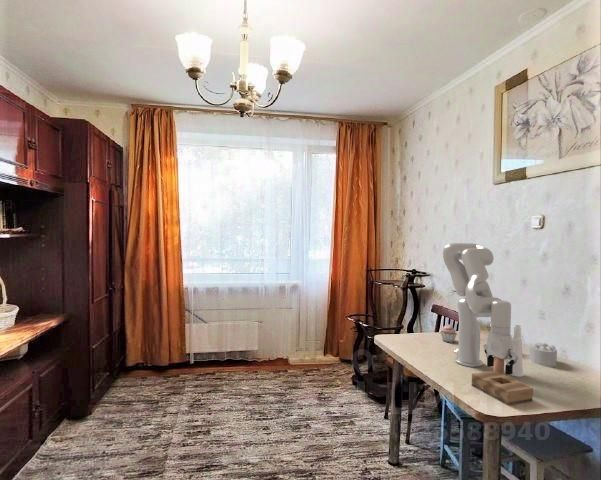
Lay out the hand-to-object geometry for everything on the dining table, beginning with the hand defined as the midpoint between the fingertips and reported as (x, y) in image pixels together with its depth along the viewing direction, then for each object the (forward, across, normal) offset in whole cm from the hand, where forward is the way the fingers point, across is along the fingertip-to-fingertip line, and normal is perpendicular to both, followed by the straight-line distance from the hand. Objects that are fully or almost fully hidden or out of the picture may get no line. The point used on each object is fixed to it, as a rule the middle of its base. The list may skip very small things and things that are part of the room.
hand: (499, 370), depth 162 cm
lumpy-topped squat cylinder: (+5, -14, +41) cm, 44 cm away
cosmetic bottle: (+5, -4, +14) cm, 16 cm away
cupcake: (+4, -56, +19) cm, 59 cm away
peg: (+5, 0, 0) cm, 5 cm away
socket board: (+5, +10, -9) cm, 14 cm away
